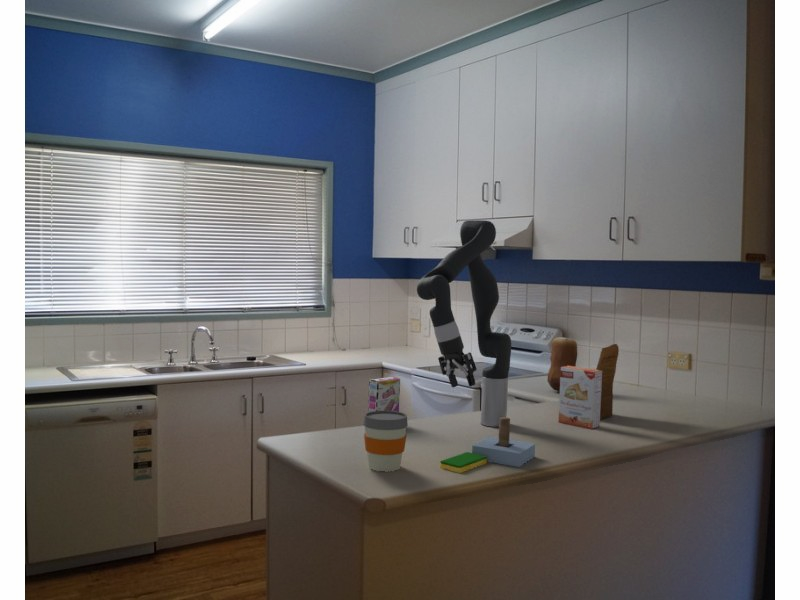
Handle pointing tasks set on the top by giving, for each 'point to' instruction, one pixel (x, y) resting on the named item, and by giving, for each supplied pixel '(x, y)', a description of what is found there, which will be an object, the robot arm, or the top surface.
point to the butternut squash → (561, 359)
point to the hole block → (505, 451)
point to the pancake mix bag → (607, 378)
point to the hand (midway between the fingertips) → (463, 386)
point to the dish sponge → (463, 462)
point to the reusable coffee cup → (385, 439)
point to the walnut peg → (504, 432)
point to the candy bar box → (384, 394)
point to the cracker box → (580, 396)
